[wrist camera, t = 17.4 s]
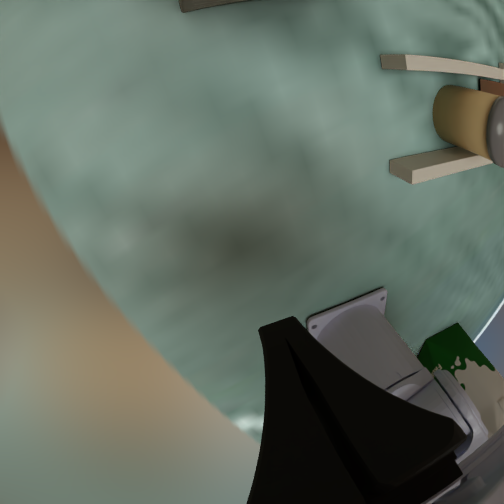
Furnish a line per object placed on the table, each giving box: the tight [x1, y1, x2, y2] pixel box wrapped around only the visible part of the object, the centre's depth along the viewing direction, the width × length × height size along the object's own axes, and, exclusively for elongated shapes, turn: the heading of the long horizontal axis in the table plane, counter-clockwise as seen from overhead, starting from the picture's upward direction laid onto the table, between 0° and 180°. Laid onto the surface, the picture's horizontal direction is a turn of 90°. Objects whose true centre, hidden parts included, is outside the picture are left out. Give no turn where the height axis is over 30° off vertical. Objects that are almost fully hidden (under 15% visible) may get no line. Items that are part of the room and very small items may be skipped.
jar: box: [433, 85, 504, 168], centre depth 16 cm, size 5×5×6 cm
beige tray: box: [380, 54, 504, 185], centre depth 16 cm, size 10×18×6 cm, turn 102°
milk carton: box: [417, 323, 504, 438], centre depth 28 cm, size 9×9×20 cm
